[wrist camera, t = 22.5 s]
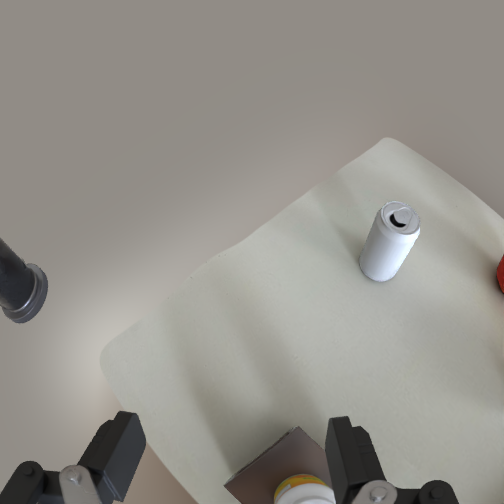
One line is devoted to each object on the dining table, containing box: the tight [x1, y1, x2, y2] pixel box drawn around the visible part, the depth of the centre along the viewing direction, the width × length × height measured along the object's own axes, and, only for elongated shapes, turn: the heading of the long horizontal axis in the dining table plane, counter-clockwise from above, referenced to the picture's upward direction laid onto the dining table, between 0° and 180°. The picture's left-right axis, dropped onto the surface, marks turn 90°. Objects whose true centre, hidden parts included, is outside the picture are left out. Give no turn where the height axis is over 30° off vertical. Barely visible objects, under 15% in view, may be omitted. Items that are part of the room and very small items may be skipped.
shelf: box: [224, 426, 333, 504], centre depth 26 cm, size 12×10×8 cm
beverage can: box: [359, 201, 420, 281], centre depth 41 cm, size 6×6×12 cm
